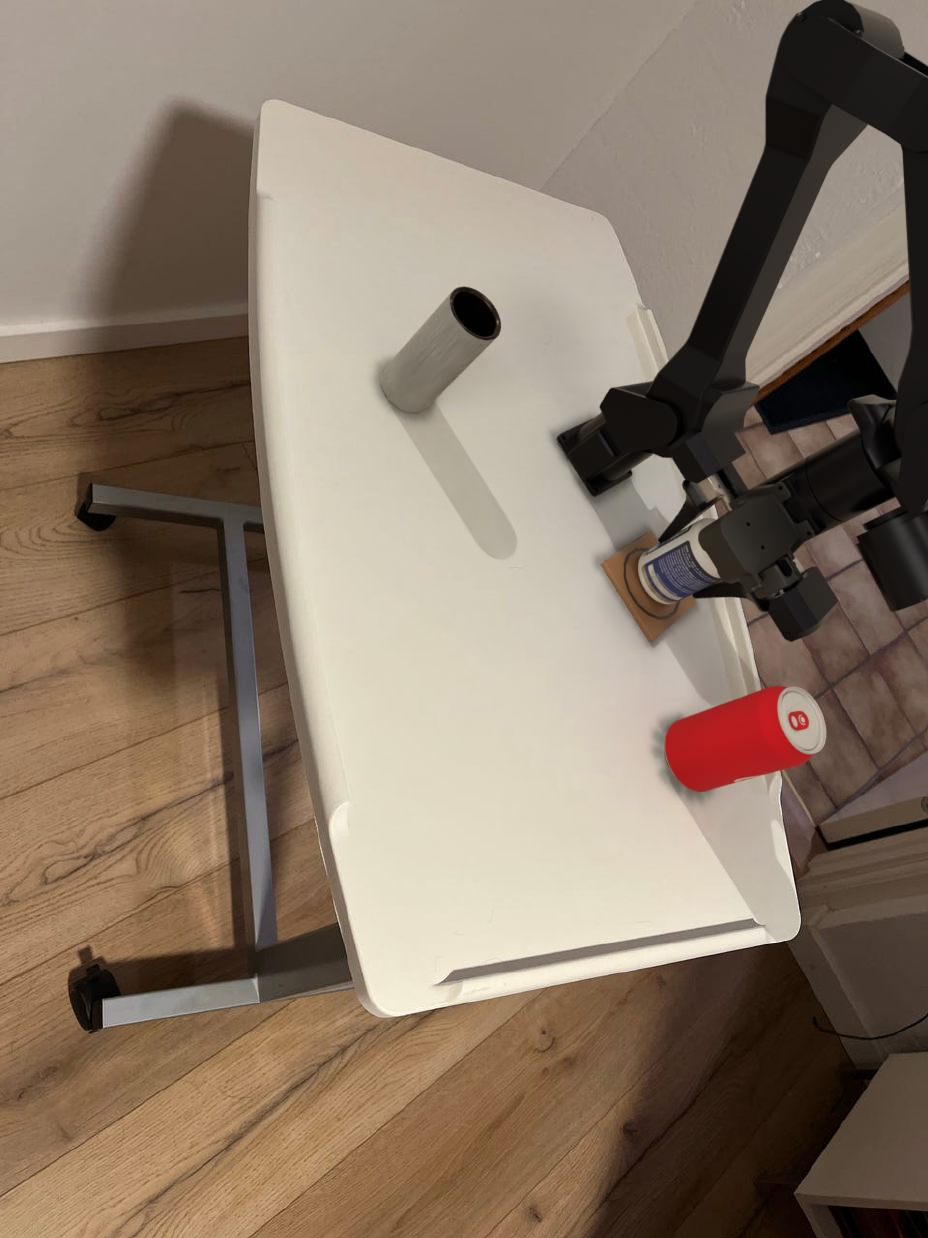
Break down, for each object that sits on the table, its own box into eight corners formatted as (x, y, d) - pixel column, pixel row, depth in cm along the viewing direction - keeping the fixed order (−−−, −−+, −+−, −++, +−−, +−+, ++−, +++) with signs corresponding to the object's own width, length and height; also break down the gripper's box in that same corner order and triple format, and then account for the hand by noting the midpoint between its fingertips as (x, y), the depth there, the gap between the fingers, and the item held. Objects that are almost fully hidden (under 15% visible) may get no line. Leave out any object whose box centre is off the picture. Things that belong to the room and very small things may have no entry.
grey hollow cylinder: (371, 389, 71) (441, 309, 63) (392, 354, 73) (461, 274, 66) (417, 424, 72) (491, 351, 64) (435, 389, 75) (509, 315, 67)
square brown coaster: (647, 532, 84) (651, 530, 84) (692, 605, 84) (697, 603, 84) (600, 564, 79) (604, 561, 78) (649, 641, 79) (653, 639, 78)
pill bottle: (677, 615, 81) (764, 574, 74) (633, 590, 79) (718, 545, 72) (680, 566, 84) (764, 522, 77) (637, 541, 82) (720, 492, 74)
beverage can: (719, 788, 77) (841, 755, 68) (671, 799, 74) (793, 766, 64) (697, 717, 79) (813, 676, 70) (649, 725, 75) (765, 682, 66)
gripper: (715, 408, 63) (570, 507, 74) (857, 637, 63) (690, 699, 75) (781, 372, 70) (639, 467, 82) (908, 577, 70) (748, 642, 82)
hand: (677, 567), depth 80 cm, fingers closed on pill bottle, 5 cm apart
